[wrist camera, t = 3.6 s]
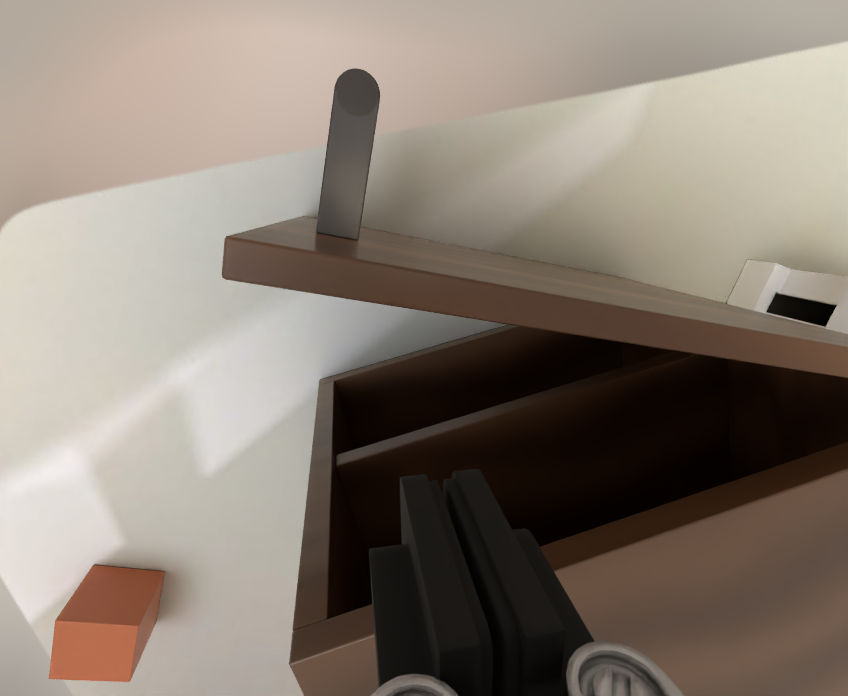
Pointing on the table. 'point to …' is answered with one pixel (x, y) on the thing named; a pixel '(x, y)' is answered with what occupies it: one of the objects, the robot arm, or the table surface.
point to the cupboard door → (494, 272)
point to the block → (106, 624)
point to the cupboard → (600, 501)
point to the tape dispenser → (791, 290)
